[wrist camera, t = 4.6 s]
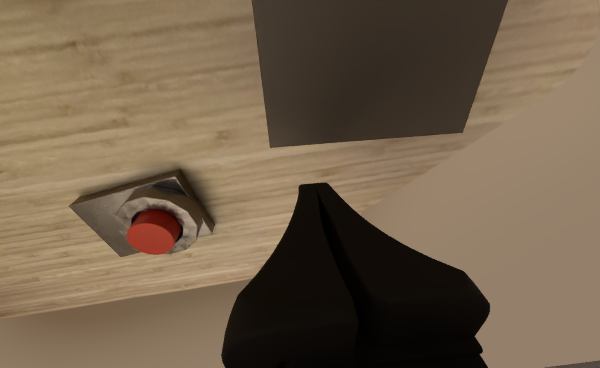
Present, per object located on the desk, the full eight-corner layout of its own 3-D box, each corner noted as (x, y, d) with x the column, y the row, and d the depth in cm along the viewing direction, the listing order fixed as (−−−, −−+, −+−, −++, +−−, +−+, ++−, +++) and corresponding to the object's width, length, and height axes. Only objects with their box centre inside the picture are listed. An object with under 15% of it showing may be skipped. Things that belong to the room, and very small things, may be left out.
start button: (167, 204, 20) (158, 218, 19) (188, 234, 22) (182, 249, 20) (127, 215, 20) (116, 229, 19) (152, 243, 22) (143, 258, 21)
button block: (182, 168, 21) (170, 186, 19) (217, 224, 25) (210, 245, 22) (78, 197, 22) (52, 219, 19) (127, 247, 26) (111, 271, 23)
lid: (454, 128, 15) (462, 132, 14) (270, 142, 15) (270, 148, 14) (549, -169, 9) (571, -186, 8) (233, -165, 8) (229, -181, 8)
